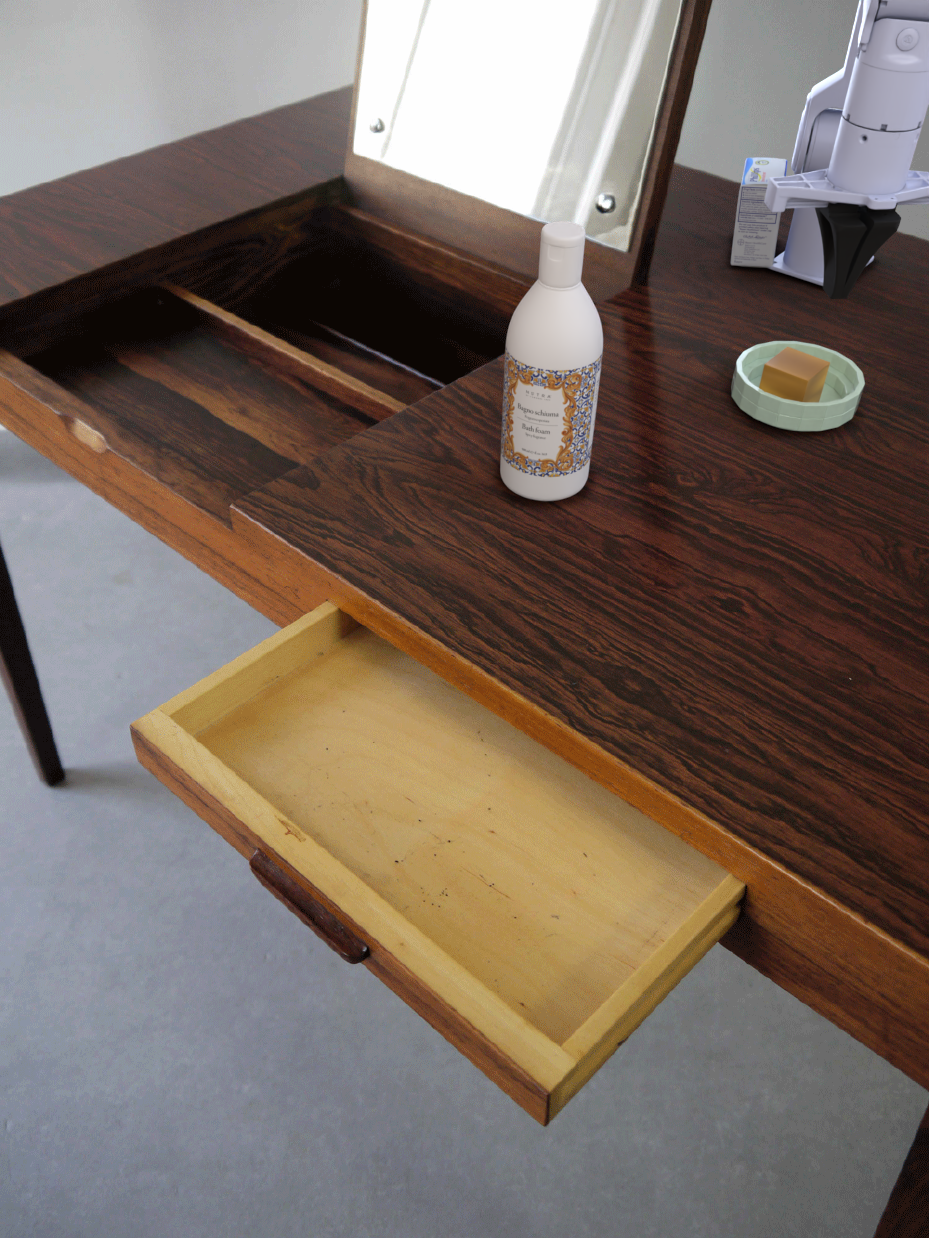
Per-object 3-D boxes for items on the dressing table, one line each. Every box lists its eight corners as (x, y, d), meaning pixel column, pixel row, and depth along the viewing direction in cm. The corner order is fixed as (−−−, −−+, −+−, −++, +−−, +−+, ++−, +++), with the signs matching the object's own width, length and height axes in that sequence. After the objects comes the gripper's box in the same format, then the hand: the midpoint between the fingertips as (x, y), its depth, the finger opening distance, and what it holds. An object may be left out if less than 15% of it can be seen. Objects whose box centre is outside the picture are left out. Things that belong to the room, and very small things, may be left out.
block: (777, 387, 93) (787, 346, 90) (818, 403, 91) (830, 362, 88) (754, 405, 90) (764, 364, 88) (796, 422, 88) (808, 380, 86)
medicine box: (772, 270, 110) (786, 185, 104) (728, 267, 111) (740, 183, 105) (775, 239, 116) (789, 157, 110) (734, 236, 117) (745, 155, 111)
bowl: (764, 358, 97) (771, 328, 95) (875, 398, 92) (885, 368, 90) (707, 405, 91) (713, 375, 89) (822, 451, 86) (832, 420, 84)
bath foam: (486, 492, 82) (495, 241, 68) (516, 445, 86) (530, 201, 73) (572, 513, 80) (599, 259, 66) (598, 464, 85) (628, 218, 71)
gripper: (804, 140, 73) (763, 320, 83) (1002, 136, 75) (940, 313, 84) (772, 106, 79) (737, 279, 88) (958, 103, 80) (904, 273, 89)
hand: (834, 293), depth 86 cm, fingers closed
